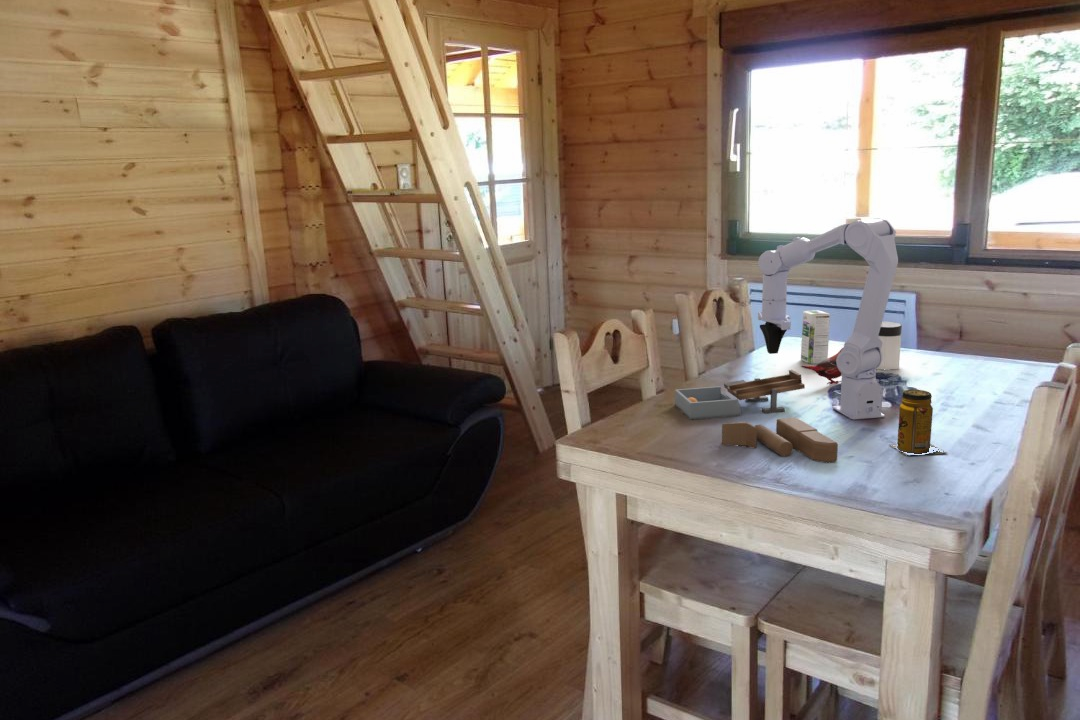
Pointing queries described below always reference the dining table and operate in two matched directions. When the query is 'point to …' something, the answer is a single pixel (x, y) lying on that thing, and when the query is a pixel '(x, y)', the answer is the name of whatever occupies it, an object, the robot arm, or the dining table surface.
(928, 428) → the condiment
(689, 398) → the ball
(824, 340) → the syrup box
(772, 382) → the wooden rack
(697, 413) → the tray
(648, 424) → the dining table surface
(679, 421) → the dining table surface
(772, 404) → the lever stand
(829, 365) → the red pointed-tail figurine
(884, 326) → the jar
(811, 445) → the wooden block set
